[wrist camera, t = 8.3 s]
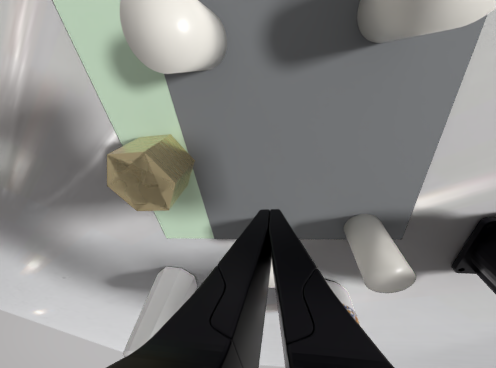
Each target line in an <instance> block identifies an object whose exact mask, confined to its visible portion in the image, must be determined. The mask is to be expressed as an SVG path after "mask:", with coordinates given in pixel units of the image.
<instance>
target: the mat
mask: <svg viewBox="0 0 496 368" xmlns="http://www.w3.org/2000/svg"><path fill="white" fill-rule="evenodd" d="M120 1H121V0H53V2H54V4H55V6H56V9H57V11H58V13H59V15H60V17H61V19H62V21H63V23H64V25H65V27H66V29H67V31H68V34H69V36H70V38H71V40H72V42H73V44H74V46H75V48H76V50H77V52H78V54H79V56H80V59H81V61H82V63H83V65H84V67H85V69H86V71H87V73H88V75H89V77H90V79H91V81H92V84H93V86H94V88H95V90H96V92H97V94H98V96H99V98H100V100H101V102H102V104H103V106H104V109H105V111H106V113H107V115H108V117H109V119H110V121H111V123H112V125H113V127H114V129H115V131H116V134H117V136H118V138H119V140H120V142H121V144H122V146H124V145H126V144H128V143H130V142H132V141H134V140H135V139H137V138H139V137H146V136H157V135H168V134H171V135H172V136H173V137H174V138H175V139H176V141H177V142H178V143H179V144H180V145H181V146H182V147H183V148H184V149H185V150H186V151H187V153H188V154H189V155H190V156H191V157H192V158H193V159H194V160H195V162H194V165H193V169H192V172H191V176H190V179H189V183H188V186H187V187H186V188H185V190H184V191H183V192H182V194H181V195H180V196H179V198H178V199H177V200H176V202H175V203H174V204H173V206H172V207H171V208H170V210H169V211H154V213H155V215H156V217H157V219H158V221H159V223H160V225H161V227H162V229H163V231H164V234H165V236H166V238H214V239H238V238H239V236H240V235H241V234H242V232H243V231H244V230H245V229H246V227H247V226H248V225H249V223H250V222H251V221H252V220H253V218H254V217H255V216H256V214H257V213H258V212H259V211H260V210H261V209H269V210H271V209H280V210H281V212H282V213H283V215H284V217H285V218H286V220H287V221H288V223H289V224H290V226H291V228H292V229H293V231H294V232H295V234H296V235H297V237H298V239H347V237H346V235H345V232H344V225H345V223H346V222H347V221H348V220H349V219H350V218H352V217H354V216H356V215H360V214H370V215H374V216H376V217H377V218H378V219H379V220H380V221H381V223H382V224H383V226H384V228H385V229H386V231H387V232H388V234H389V235H390V237H391V238H392V239H402V237H403V235H404V232H405V230H406V227H407V224H408V222H409V219H410V216H411V214H412V211H413V209H414V206H415V203H416V201H417V198H418V195H419V193H420V190H421V188H422V185H423V182H424V180H425V177H426V174H427V172H428V169H429V166H430V164H431V161H432V159H433V156H434V153H435V151H436V148H437V145H438V143H439V140H440V138H441V135H442V132H443V130H444V127H445V124H446V122H447V119H448V117H449V114H450V111H451V109H452V106H453V103H454V101H455V98H456V95H457V93H458V90H459V88H460V85H461V82H462V80H463V77H464V74H465V72H466V69H467V67H468V64H469V61H470V59H471V56H472V53H473V51H474V48H475V46H476V43H477V40H478V38H479V35H480V32H481V30H482V27H483V25H484V22H485V19H486V17H487V15H486V16H484V17H482V18H481V19H479V20H477V21H475V22H473V23H471V24H469V25H466V26H463V27H459V28H455V29H450V30H445V31H440V32H435V33H430V34H425V35H420V36H414V37H409V38H404V39H399V40H394V41H389V42H384V43H375V42H371V41H369V40H367V39H366V38H365V37H364V36H363V35H362V34H361V32H360V30H359V27H358V22H357V12H358V7H359V3H360V0H198V1H199V2H201V3H202V4H203V5H205V6H206V7H207V8H208V9H210V10H211V11H212V12H213V13H214V14H216V15H217V16H218V18H219V19H220V20H221V22H222V24H223V26H224V28H225V32H226V36H227V49H226V53H225V56H224V58H223V60H222V61H221V63H220V64H219V65H218V66H216V67H215V68H213V69H210V70H203V71H193V72H183V73H172V74H163V73H159V72H156V71H154V70H152V69H150V68H148V67H147V66H145V65H144V64H143V63H142V62H141V61H140V60H139V59H138V58H137V57H136V56H135V54H134V53H133V52H132V50H131V48H130V47H129V45H128V43H127V41H126V39H125V36H124V33H123V30H122V26H121V21H120Z"/></svg>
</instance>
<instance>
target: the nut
mask: <svg viewBox="0 0 496 368" xmlns="http://www.w3.org/2000/svg"><path fill="white" fill-rule="evenodd" d="M194 162H195V160H194V159H193V158H192V157H191V156H190V155H189V154H188V153H187V151H186V150H185V149H184V148H183V147H182V146H181V145H180V144H179V143H178V142H177V141H176V139H175V138H174V137H173V136H172V135H171V134H168V135H157V136H146V137H139V138H137V139H135V140H134V141H132V142H130V143H128V144H126V145H124V146H122V147H120V148H118V149H117V150H115V151H113V152H111V153H109V154H107V186H108V187H109V188H110V189H111V190H113V191H114V192H115V193H116V194H117V195H119V196H120V197H121V198H122V199H123V200H124V201H126V202H127V203H128V204H129V205H130V206H132V207H133V208H134V209H135V210H136V211H169V210H170V208H171V207H172V206H173V204H174V203H175V202H176V200H177V199H178V198H179V196H180V195H181V194H182V192H183V191H184V190H185V188H186V187H187V186H188V183H189V179H190V176H191V172H192V169H193V165H194Z"/></svg>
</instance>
